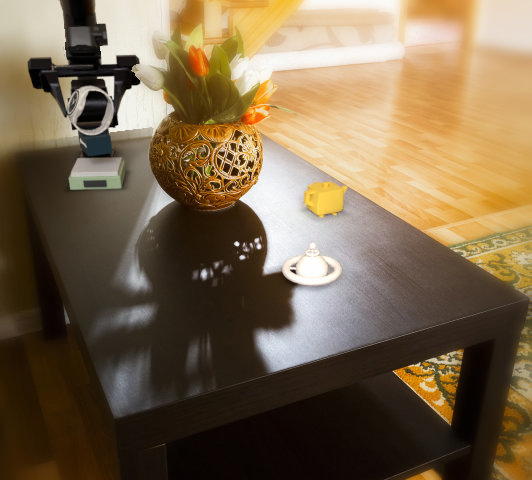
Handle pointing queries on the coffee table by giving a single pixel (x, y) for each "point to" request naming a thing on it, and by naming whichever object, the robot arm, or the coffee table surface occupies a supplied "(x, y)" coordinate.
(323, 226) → the coffee table surface
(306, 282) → the ring around a ball
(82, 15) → the robot arm
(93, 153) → the watch
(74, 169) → the scale
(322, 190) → the teapot
